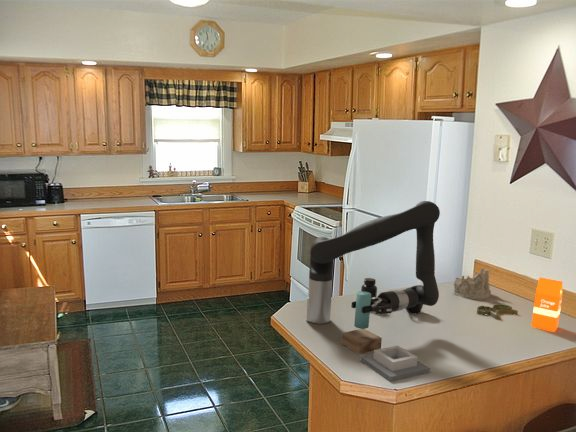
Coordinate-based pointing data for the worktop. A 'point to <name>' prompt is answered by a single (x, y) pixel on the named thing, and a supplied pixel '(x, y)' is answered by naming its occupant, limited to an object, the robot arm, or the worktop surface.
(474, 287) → the sand castle
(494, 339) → the worktop surface
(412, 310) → the mug
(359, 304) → the peg
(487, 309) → the cookie cutter
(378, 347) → the stand
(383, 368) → the socket base
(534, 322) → the orange juice
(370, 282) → the supplement bottle
